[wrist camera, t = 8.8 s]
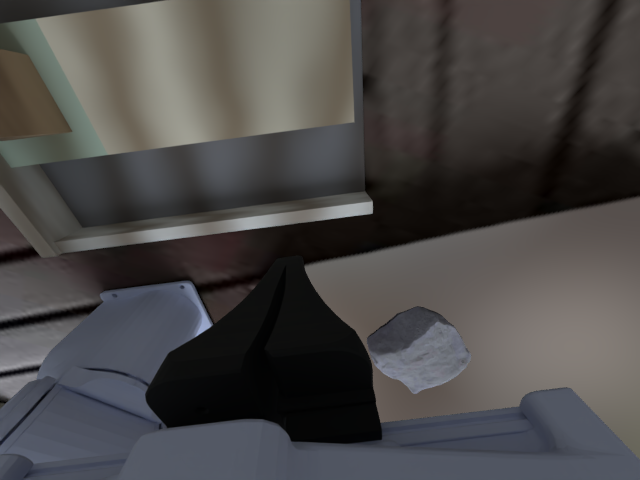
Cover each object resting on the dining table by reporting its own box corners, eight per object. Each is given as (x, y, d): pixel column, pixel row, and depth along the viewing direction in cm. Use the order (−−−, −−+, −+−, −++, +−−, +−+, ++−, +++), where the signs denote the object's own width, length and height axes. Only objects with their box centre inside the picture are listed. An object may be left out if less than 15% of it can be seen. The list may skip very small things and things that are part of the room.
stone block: (414, 288, 28) (357, 340, 30) (441, 313, 24) (373, 374, 25) (456, 330, 33) (406, 374, 35) (485, 357, 29) (426, 406, 30)
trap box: (80, 237, 21) (42, 257, 18) (-173, -120, 11) (-347, -205, 8) (364, 200, 21) (373, 215, 18) (354, -198, 11) (372, -315, 8)
